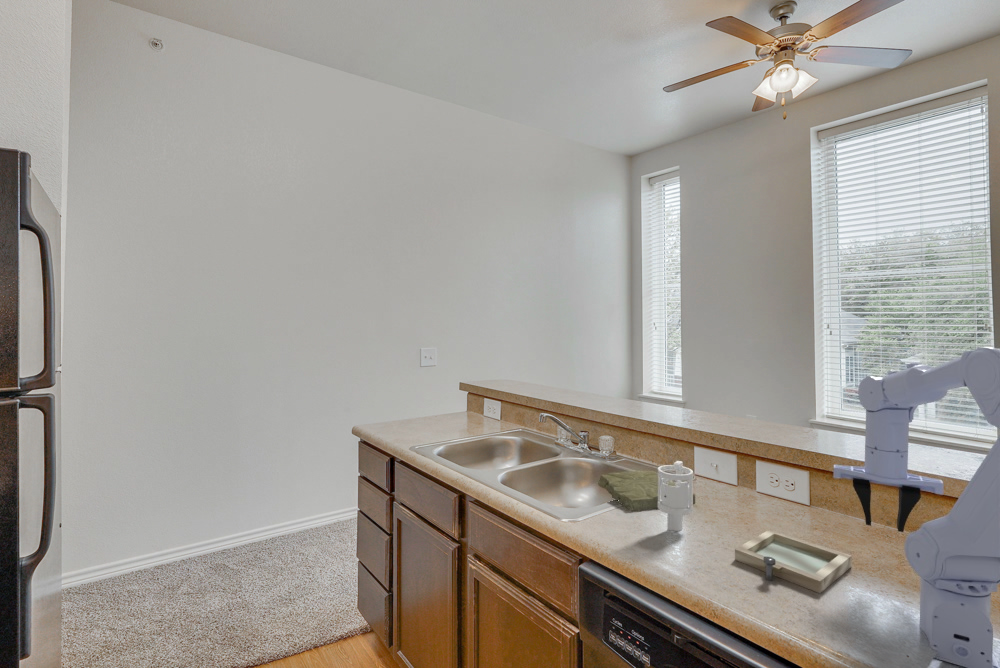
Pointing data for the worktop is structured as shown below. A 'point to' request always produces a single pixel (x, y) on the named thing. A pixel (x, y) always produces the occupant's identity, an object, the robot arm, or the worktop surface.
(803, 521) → the worktop surface
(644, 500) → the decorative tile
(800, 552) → the picture frame
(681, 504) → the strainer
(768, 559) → the knob
